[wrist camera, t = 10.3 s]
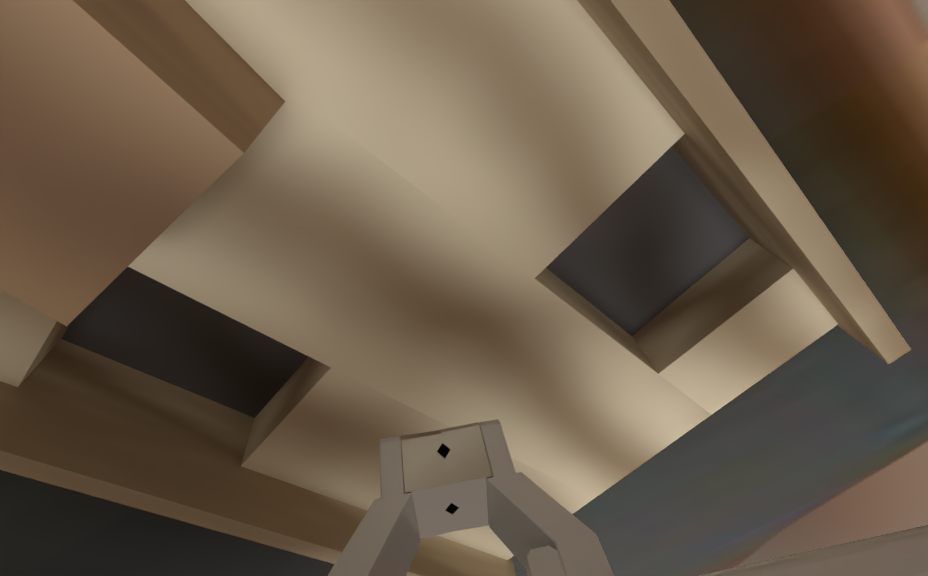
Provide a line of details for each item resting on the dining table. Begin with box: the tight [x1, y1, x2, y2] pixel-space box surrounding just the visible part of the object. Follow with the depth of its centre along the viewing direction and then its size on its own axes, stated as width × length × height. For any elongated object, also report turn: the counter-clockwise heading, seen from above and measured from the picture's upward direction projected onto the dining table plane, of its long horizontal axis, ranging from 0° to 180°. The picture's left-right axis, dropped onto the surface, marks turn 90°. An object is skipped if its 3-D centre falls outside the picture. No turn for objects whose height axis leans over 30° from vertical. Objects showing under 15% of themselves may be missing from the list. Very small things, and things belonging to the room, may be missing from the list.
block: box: [0, 0, 285, 326], centre depth 9 cm, size 5×5×4 cm
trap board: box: [0, 0, 911, 576], centre depth 15 cm, size 20×27×4 cm
